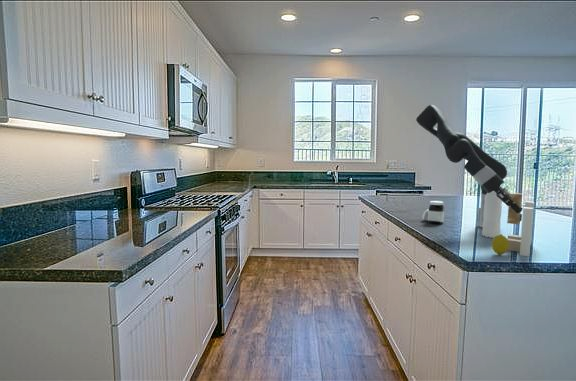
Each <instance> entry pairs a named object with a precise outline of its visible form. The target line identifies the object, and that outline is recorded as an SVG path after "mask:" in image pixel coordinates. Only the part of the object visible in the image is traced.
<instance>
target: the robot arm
mask: <svg viewBox="0 0 576 381" xmlns="http://www.w3.org/2000/svg"><path fill="white" fill-rule="evenodd" d="M416 122H417V123H418V125H419V126H421V127H422V128H423V129H424V130H426V131H427V132H428V133H430V134H431V135H432V136H434V137H436V138H437V139H438V140H439V142H440V143H441V144H442V145H443V148H444V151H445V156H446V157H447V159H448V160H449V161H450V162H451V163H453V164H454V163H455V164H457V163H459V162H462V160H463V159H464V160H466V161H467V162H466V163H465V165H463V166H464V170H465V171H466V172H467V173H468V174H469V175H470V176H471V177H472V178H473V179H474V180H475V181H476V183H477V184H478V185H479V186H480V189H481V191H480V192H481V195H480V196H481V197H480V199H481V200H480V207H479V208H478V211H477V212H478V214H477V227H479V228H482V229H483V220H484V218H483V214H484V203H485V199H484V198H485V195H486V194H487V193H491V192H492V191H495V192H496V196H497V197H498V198H500V199H501V200H502V203H504V204H505V205H506V206H507V207H510V206H511V208H512V209H513V210H514V211H515V212H516V213H520V214H521V212H523V208H524V207H522V206H521V208H520V207H519V206H518V205H517V204H516V203H515V202H514V201H513V200H512V199H511V198H512V197H511V196H510V193H511V192H509V191H508V189H506V188H505V187H504V188H503V187H502V186H501V185H503V184H504V183H505V180H504V179H506V178H507V175H508V170H507V167H506V166H505V165H504V163H502V162H500V161H498V160H496V159H495V158H493V156H491V155H489V154H488V153H487V152H485V151H484V149H482V148H481V147H480V146H479V145H478V144H477V143H475V142H474V141H473V140H472V139H471V138H470V137H469V136H467V135H466V134H464V133H462V132H456V131H454V130H453V129H452V127H451V125H450V124H449V122H448V120H447V118H446V117H445V115H444V113H443V112H442V111H441V110H440V108H438V107H437V106H436V105H434V104H429V105H428V106H426V107H425V108H424V109H423V110H422V112H421V113H419V114H418V116H417V117H416ZM436 125H437V127H435V126H436ZM509 200H510V201H509ZM500 222H501V220H500Z"/></svg>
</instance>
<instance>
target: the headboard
mask: <svg viewBox="0 0 576 381" xmlns="http://www.w3.org/2000/svg"><path fill="white" fill-rule="evenodd" d="M522 208H523V209H522V220H521V231H520V232H521V233H520V235H516V234H507V239H508V242H509V248H508V251H511V252H517V253H518V252H519V256H524V257H530V255H531V254H530V253H531V245H532V234H533V233H532V232H533V225H534V224H533V222H534V209H535V201H528V200H526V201H525V204H524V207H522Z"/></svg>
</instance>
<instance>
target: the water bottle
mask: <svg viewBox="0 0 576 381" xmlns="http://www.w3.org/2000/svg"><path fill="white" fill-rule="evenodd" d="M484 199H485V203H484V214H483V218H484V220H483V228H482V231H481V235H482V236H483V237H484V236H485V238H488V237H489V239H494V237H496V236H498V235H500V234H501V230H500V229H501V221H500V220H501V218H502V207H503V206H502V204H503V201H502V200H501V199H500V198H498V197H497V196H496V192H495V191H492V192H491V193H487V194H486V195H485V198H484Z"/></svg>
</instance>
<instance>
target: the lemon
mask: <svg viewBox="0 0 576 381" xmlns="http://www.w3.org/2000/svg"><path fill="white" fill-rule="evenodd" d="M508 248H509V242H508V237H506V236H505V235H503V234H501V233H500V235H498V236H496V237H494V238H492V240H491V249H492V250H493V252H494V253H496V254H497V255H498V256H501V255H503V254H506V253H507V252H508V251H509V250H508Z"/></svg>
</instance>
